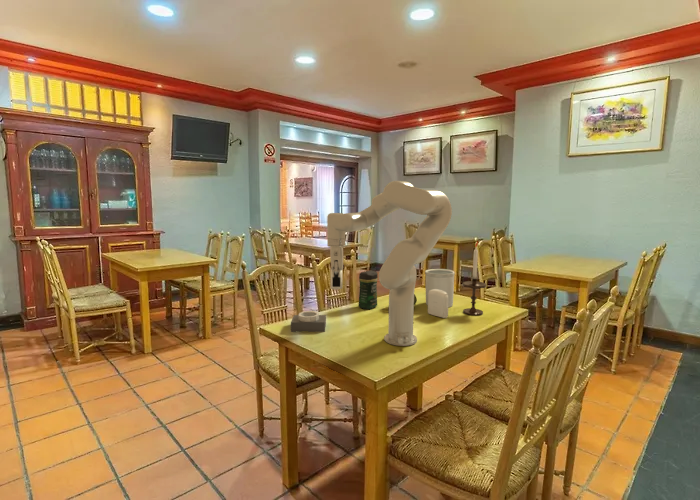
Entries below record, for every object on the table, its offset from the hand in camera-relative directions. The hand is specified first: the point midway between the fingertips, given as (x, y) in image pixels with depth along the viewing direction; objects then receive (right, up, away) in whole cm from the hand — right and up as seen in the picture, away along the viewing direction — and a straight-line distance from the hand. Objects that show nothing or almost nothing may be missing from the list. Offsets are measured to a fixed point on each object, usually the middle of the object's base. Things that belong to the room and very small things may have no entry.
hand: (336, 284), depth 166 cm
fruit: (+33, -15, +31) cm, 47 cm away
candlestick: (+65, -16, +22) cm, 70 cm away
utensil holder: (+52, -14, +37) cm, 65 cm away
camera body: (-12, -18, 0) cm, 22 cm away
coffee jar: (+15, -14, +31) cm, 38 cm away
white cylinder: (0, -1, 0) cm, 2 cm away
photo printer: (+47, -16, +18) cm, 53 cm away
